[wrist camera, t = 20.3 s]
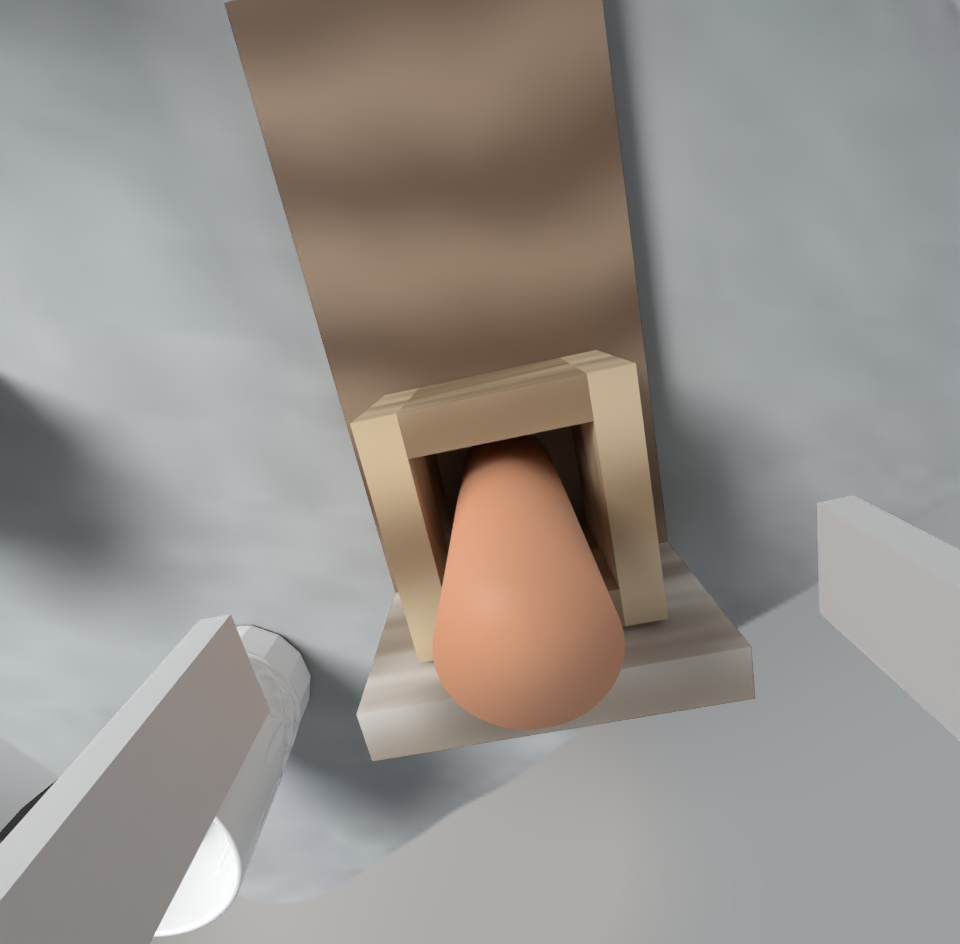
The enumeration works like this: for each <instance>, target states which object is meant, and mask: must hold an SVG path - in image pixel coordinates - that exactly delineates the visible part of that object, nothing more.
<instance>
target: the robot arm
mask: <svg viewBox="0 0 960 944" xmlns="http://www.w3.org/2000/svg"><path fill="white" fill-rule="evenodd" d="M817 530H818V580H819V613H820V614H821V615H822V616H823V617H824V618H825V619H826V620H827V621H828V622H830V623H831V624H832V625H833V626H834V627H835V628H836V629H838V631H839V632H840V633H842V634H843V635H844V636H845V637H846V638H847V639H848V640H849V641H850V642H851V643H853V644H854V645H855V646H856V647H857V648H858V649H859V650H860V651H861V652H862V653H863V654H865V655H866V656H867V657H868V658H869V659H870V660H871V661H872V662H873V663H874V664H875V665H877V666H878V667H879V668H880V669H881V670H882V671H883V672H884V673H885V674H886V675H887V676H889V677H890V678H891V679H892V680H893V681H894V682H895V683H896V684H897V685H898V686H899V687H901V688H902V689H903V690H904V691H905V692H906V693H908V695H909V696H911V697H912V698H913V699H914V700H915V701H916V702H917V703H918V704H919V705H920V706H921V707H922V708H924V709H925V710H926V711H927V712H928V713H929V714H930V715H931V716H932V717H933V718H935V719H936V720H937V721H938V722H939V723H940V724H941V725H943V727H944V728H945V729H947V730H948V731H949V732H950V733H951V734H952V735H953V736H954V737H955V738H956V739H958V740H959V741H960V549H958V548H956V547H954V546H952V545H950V544H948V543H946V542H944V541H942V540H940V539H938V538H936V537H934V536H932V535H930V534H928V533H926V532H924V531H923V530H921V529H919V528H917V527H915V526H913V525H911V524H909V523H907V522H905V521H903V520H901V519H899V518H897V517H895V516H893V515H891V514H889V513H887V512H886V511H884V510H882V509H880V508H878V507H876V506H874V505H872V504H870V503H868V502H866V501H864V500H862V499H860V498H858V497H856V496H854V495H853V496H848V497H842V498H837V499H832V500H827V501H821V502H817ZM269 712H270V709H269V706H268V704H267V702H266V699H265V697H264V694H263V692H262V689H261V687H260V685H259V682H258V680H257V677H256V675H255V672H254V670H253V667H252V665H251V663H250V660H249V658H248V655H247V653H246V650H245V648H244V645H243V643H242V641H241V638H240V636H239V633H238V631H237V628H236V626H235V624H234V621H233V619H232V616H231V614H229V615H224V616H219V617H214V618H208V619H203V620H199V621H198V622H197V623H196V624H195V625H194V626H193V628H192V629H191V630H190V631H189V632H188V633H187V634H186V635H185V637H184V638H183V639H182V640H181V641H180V642H179V643H178V644H177V646H176V647H175V648H174V649H173V650H172V651H171V652H170V653H169V655H168V656H167V657H166V658H165V659H164V660H163V661H162V662H161V664H160V665H159V666H158V667H157V668H156V669H155V670H154V671H153V673H152V674H151V675H150V676H149V677H148V678H147V679H146V680H145V682H144V683H143V684H142V685H141V686H140V687H139V688H138V689H137V691H136V692H135V693H134V694H133V695H132V696H131V697H130V698H129V700H128V701H127V702H126V703H125V704H124V705H123V706H122V707H121V709H120V710H119V711H118V712H117V713H116V714H115V715H114V716H113V718H112V719H111V720H110V721H109V722H108V723H107V724H106V725H105V727H104V728H103V729H102V730H101V731H100V732H99V733H98V734H97V736H96V737H95V738H94V739H93V740H92V741H91V742H90V743H89V745H88V746H87V747H86V748H85V749H84V750H83V751H82V752H81V754H80V755H79V756H78V757H77V758H76V759H75V760H74V761H73V763H72V764H71V765H70V766H69V767H68V768H67V769H66V770H65V772H64V773H63V774H62V775H61V776H60V777H59V778H58V779H57V780H56V781H55V782H54V783H53V784H51V785H50V786H49V787H48V788H46V789H45V790H44V791H43V792H41V793H40V794H39V795H38V796H36V797H35V798H34V799H33V800H32V801H30V802H29V803H28V804H27V805H26V806H24V807H23V808H22V809H21V810H20V811H19V812H18V813H17V814H16V816H15V817H14V818H13V819H12V820H11V821H10V822H9V823H8V824H7V825H6V827H5V828H4V829H3V830H2V831H1V832H0V944H150V942H151V940H152V938H153V936H154V934H155V932H156V930H157V928H158V927H159V925H160V923H161V921H162V919H163V917H164V915H165V913H166V911H167V909H168V907H169V905H170V903H171V901H172V899H173V898H174V896H175V894H176V892H177V890H178V888H179V886H180V884H181V882H182V880H183V878H184V876H185V874H186V872H187V870H188V869H189V867H190V865H191V863H192V861H193V859H194V857H195V855H196V853H197V851H198V849H199V847H200V845H201V843H202V841H203V840H204V838H205V836H206V834H207V832H208V830H209V828H210V826H211V824H212V822H213V820H214V818H215V816H216V814H217V812H218V811H219V809H220V807H221V805H222V803H223V801H224V799H225V797H226V795H227V793H228V791H229V789H230V787H231V785H232V783H233V782H234V780H235V778H236V776H237V774H238V772H239V770H240V768H241V766H242V764H243V762H244V760H245V758H246V756H247V754H248V752H249V751H250V749H251V747H252V745H253V743H254V741H255V739H256V737H257V735H258V733H259V731H260V729H261V727H262V725H263V723H264V722H265V720H266V718H267V716H268V714H269Z"/></svg>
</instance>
